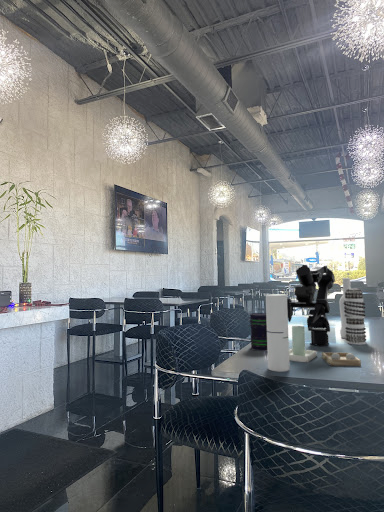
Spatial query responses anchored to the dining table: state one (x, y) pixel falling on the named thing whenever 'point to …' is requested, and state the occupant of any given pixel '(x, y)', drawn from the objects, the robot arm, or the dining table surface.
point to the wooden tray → (340, 360)
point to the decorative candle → (354, 317)
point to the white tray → (308, 356)
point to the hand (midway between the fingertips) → (300, 322)
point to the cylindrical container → (277, 332)
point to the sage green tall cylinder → (298, 340)
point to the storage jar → (258, 331)
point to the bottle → (343, 319)
